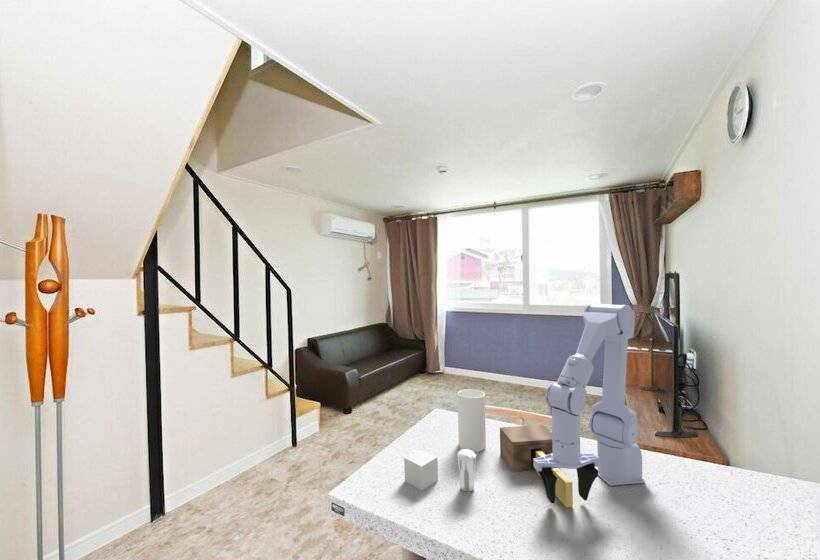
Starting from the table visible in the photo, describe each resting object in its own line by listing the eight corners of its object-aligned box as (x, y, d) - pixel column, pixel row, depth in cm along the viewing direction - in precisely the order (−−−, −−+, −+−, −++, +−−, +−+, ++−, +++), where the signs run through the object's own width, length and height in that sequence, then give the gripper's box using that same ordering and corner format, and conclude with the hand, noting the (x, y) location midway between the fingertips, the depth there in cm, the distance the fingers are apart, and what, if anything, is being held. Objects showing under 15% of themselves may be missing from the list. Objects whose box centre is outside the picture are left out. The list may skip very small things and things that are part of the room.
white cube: (422, 491, 83) (421, 466, 83) (404, 481, 87) (404, 457, 87) (438, 480, 88) (437, 456, 87) (420, 471, 92) (420, 449, 92)
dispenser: (543, 451, 101) (542, 424, 101) (560, 469, 91) (560, 439, 91) (500, 454, 100) (499, 427, 100) (513, 472, 90) (513, 443, 90)
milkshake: (480, 495, 81) (479, 453, 81) (457, 493, 82) (456, 451, 82) (480, 484, 85) (479, 444, 85) (458, 482, 86) (457, 442, 86)
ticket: (542, 471, 90) (541, 450, 90) (573, 506, 76) (572, 482, 76) (535, 472, 90) (535, 451, 90) (565, 507, 76) (565, 482, 76)
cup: (488, 451, 101) (487, 397, 101) (460, 452, 101) (459, 398, 101) (482, 438, 109) (481, 388, 109) (457, 439, 109) (456, 389, 109)
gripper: (585, 428, 82) (586, 485, 82) (526, 432, 80) (528, 490, 80) (605, 442, 75) (606, 505, 75) (541, 447, 73) (542, 511, 73)
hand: (567, 499), depth 77 cm, fingers open, 7 cm apart
